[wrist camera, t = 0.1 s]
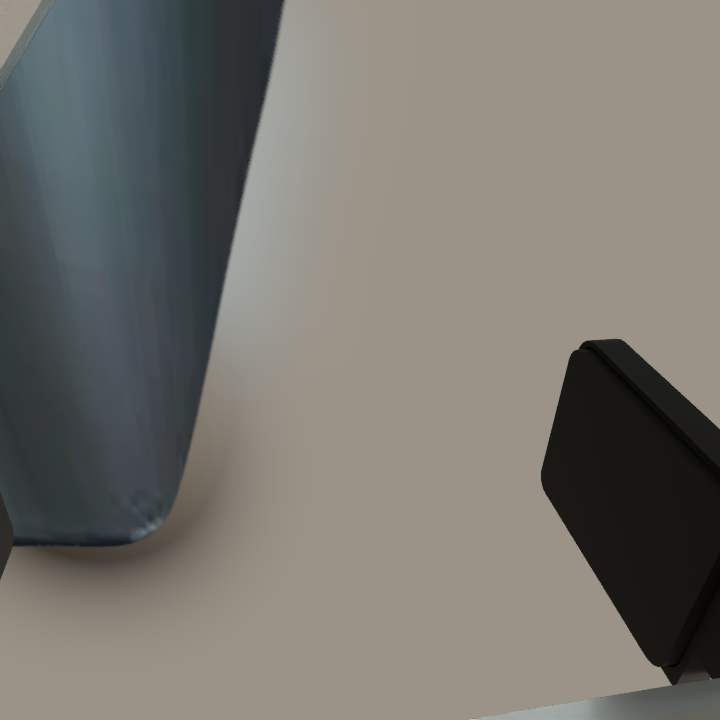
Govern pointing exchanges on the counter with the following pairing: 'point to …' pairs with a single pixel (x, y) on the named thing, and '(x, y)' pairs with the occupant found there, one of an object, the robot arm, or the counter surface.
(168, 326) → the counter surface
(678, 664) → the robot arm
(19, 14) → the board with square holes
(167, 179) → the counter surface
